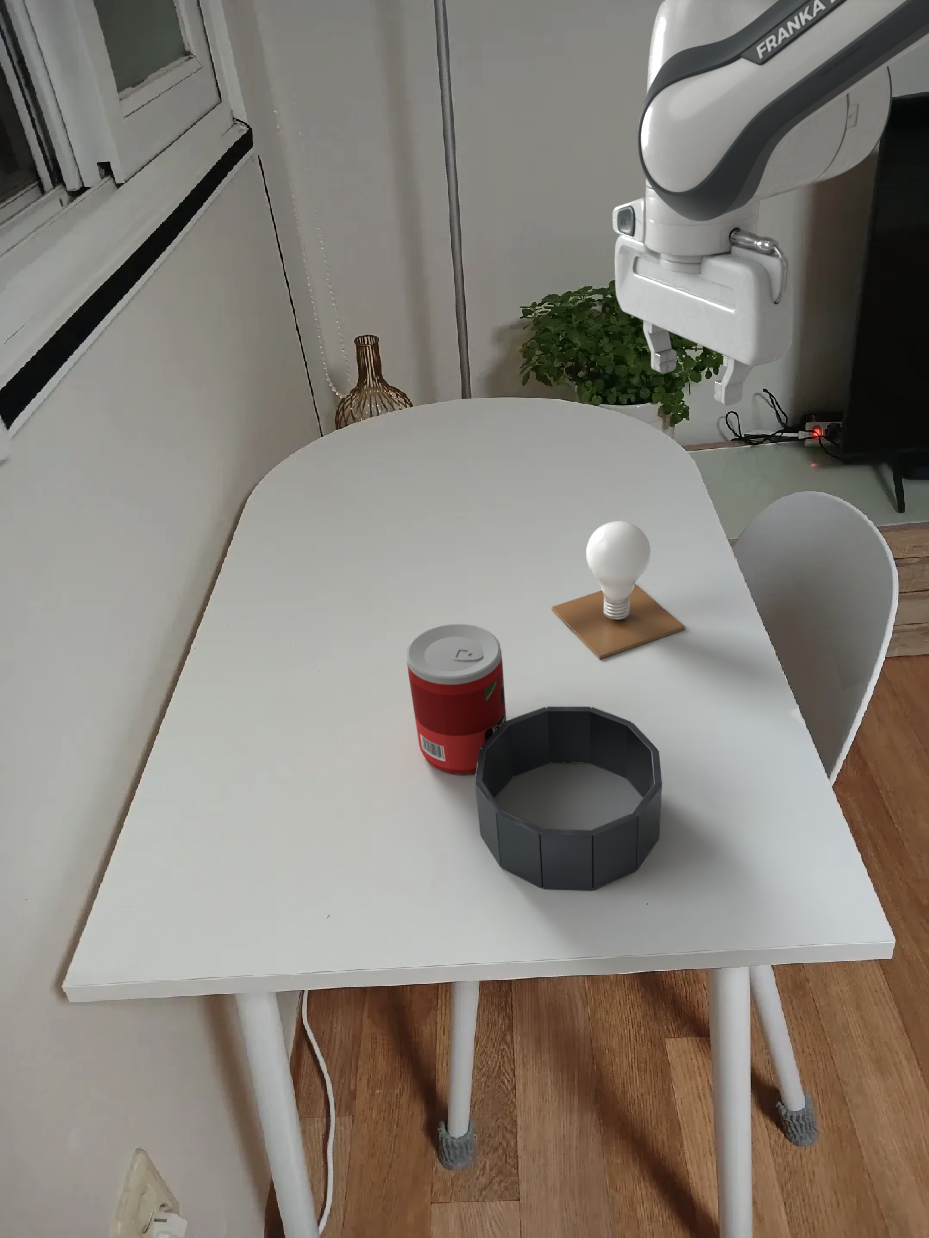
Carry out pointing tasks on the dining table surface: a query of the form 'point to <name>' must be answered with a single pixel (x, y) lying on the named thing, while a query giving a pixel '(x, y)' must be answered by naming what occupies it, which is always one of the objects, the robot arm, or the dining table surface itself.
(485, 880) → the dining table surface
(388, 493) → the dining table surface
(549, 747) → the dark grey polygonal container
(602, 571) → the lightbulb
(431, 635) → the canned food
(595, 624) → the coaster
